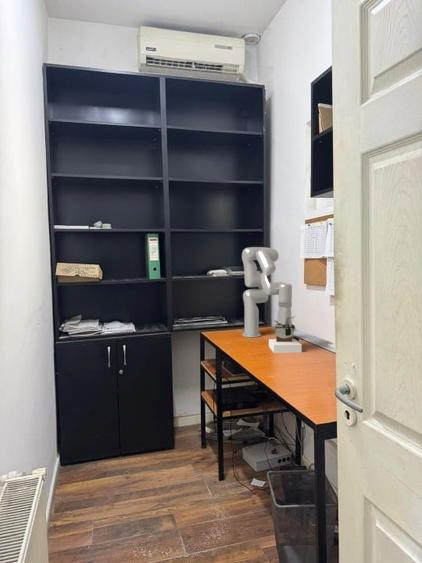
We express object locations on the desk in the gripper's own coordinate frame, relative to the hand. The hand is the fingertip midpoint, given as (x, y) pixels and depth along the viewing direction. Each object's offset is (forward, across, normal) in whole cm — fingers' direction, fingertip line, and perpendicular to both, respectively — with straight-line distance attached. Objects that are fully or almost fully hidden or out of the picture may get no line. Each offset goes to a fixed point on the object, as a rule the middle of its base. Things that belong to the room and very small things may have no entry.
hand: (284, 333), depth 224 cm
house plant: (+10, -24, +11) cm, 28 cm away
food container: (+5, -2, 0) cm, 5 cm away
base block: (+10, 0, 0) cm, 10 cm away
